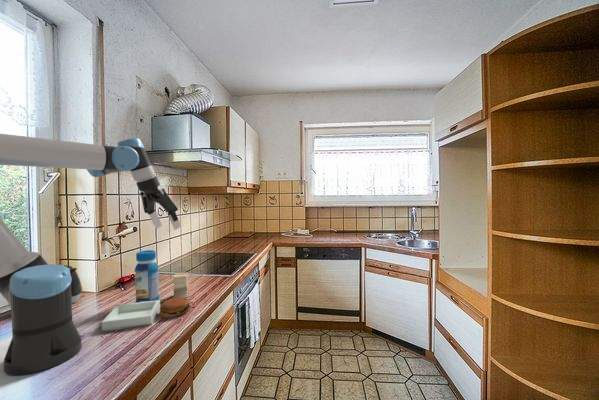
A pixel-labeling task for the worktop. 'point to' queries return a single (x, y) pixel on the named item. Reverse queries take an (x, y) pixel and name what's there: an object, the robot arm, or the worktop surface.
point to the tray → (131, 315)
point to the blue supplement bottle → (146, 276)
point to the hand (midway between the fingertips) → (168, 227)
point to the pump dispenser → (75, 284)
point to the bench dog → (180, 285)
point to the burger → (174, 307)
